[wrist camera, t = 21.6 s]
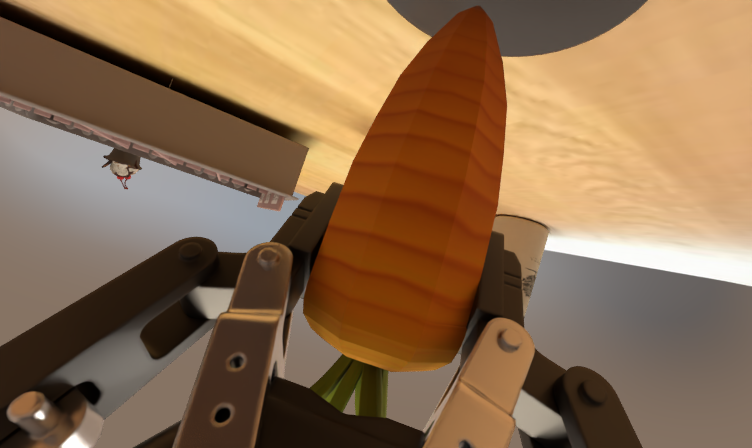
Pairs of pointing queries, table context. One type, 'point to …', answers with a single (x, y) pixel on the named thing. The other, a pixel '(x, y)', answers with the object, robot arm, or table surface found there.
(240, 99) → the table surface
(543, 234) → the travel mug
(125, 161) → the sundae
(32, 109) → the organizer tray
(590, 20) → the metal coaster
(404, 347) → the carrot
